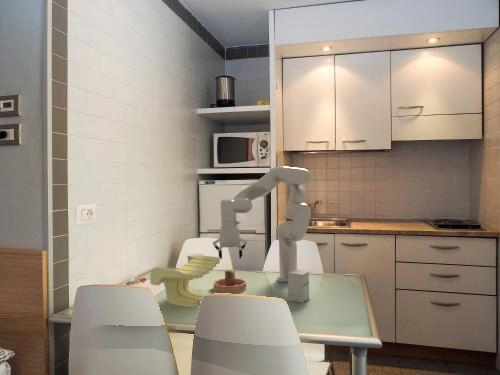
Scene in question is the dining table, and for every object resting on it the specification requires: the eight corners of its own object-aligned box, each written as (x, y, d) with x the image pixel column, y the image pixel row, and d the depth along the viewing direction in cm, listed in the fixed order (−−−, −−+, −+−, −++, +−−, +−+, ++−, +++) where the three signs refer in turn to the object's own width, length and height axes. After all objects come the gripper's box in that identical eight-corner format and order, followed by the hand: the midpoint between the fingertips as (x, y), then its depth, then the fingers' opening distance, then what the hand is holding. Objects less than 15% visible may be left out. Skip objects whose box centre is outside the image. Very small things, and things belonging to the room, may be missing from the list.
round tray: (246, 284, 209) (246, 278, 208) (245, 293, 193) (245, 286, 193) (216, 284, 209) (216, 278, 209) (212, 294, 193) (211, 286, 193)
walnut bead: (235, 285, 203) (235, 270, 203) (234, 288, 198) (234, 272, 198) (225, 285, 204) (225, 270, 203) (224, 288, 199) (224, 272, 198)
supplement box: (303, 303, 177) (302, 274, 177) (288, 300, 181) (287, 272, 181) (309, 298, 184) (309, 271, 183) (295, 296, 188) (294, 269, 187)
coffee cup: (201, 278, 223) (200, 256, 223) (185, 277, 225) (184, 256, 225) (206, 274, 233) (206, 253, 232) (191, 273, 234) (190, 253, 234)
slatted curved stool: (193, 290, 201) (193, 254, 200) (220, 294, 193) (219, 257, 192) (151, 307, 175) (150, 267, 174) (179, 313, 167) (178, 270, 166)
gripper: (246, 222, 203) (248, 256, 204) (212, 223, 204) (214, 257, 205) (245, 224, 196) (247, 259, 197) (210, 226, 197) (212, 260, 197)
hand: (230, 258), depth 201 cm, fingers open, 9 cm apart
